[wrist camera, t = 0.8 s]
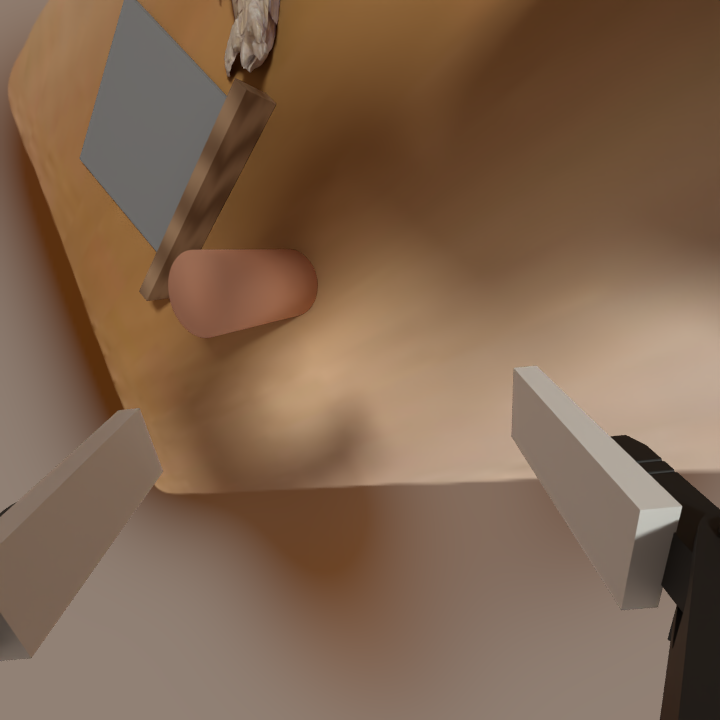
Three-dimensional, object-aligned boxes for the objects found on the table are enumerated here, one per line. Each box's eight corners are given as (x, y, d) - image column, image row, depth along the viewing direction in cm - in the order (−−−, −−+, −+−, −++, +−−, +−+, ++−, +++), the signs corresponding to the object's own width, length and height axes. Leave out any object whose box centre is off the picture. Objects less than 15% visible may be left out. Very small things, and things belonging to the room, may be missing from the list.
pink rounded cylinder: (285, 234, 41) (188, 230, 31) (329, 282, 40) (244, 295, 30) (253, 283, 45) (157, 294, 34) (293, 329, 44) (206, 354, 33)
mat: (131, -5, 43) (126, -8, 42) (234, 104, 40) (230, 102, 40) (84, 159, 53) (79, 158, 52) (164, 255, 50) (160, 255, 50)
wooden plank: (265, 93, 38) (235, 77, 35) (276, 103, 38) (246, 89, 35) (168, 288, 51) (139, 291, 48) (175, 297, 51) (146, 300, 48)
